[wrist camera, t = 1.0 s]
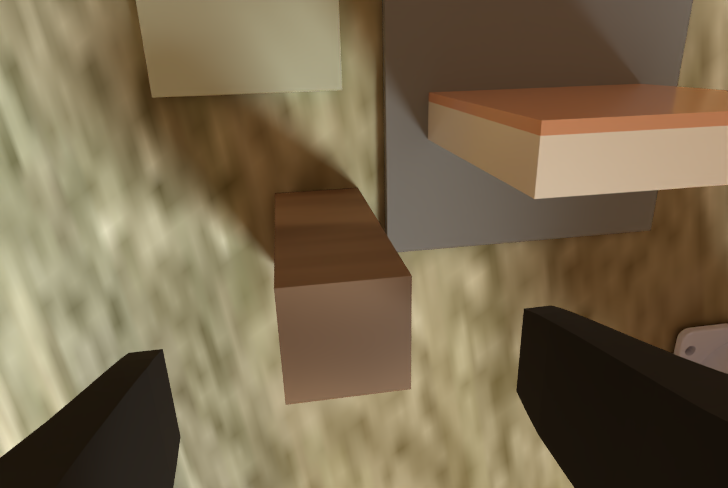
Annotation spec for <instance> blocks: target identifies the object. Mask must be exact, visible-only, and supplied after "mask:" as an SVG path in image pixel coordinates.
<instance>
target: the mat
mask: <svg viewBox="0 0 728 488" xmlns="http://www.w3.org/2000/svg"><path fill="white" fill-rule="evenodd" d="M692 3H693V0H382V12H383V91H384V169H385V233H386V235H387V236H388V238H389V240H390V241H391V243H392V245H393V246H394V248H395V249H396V251H397V252H405V251H417V250H429V249H440V248H452V247H464V246H475V245H487V244H499V243H510V242H522V241H533V240H545V239H557V238H568V237H580V236H592V235H603V234H615V233H627V232H638V231H650V230H651V226H652V220H653V215H654V209H655V204H656V198H657V193H658V190H650V191H637V192H623V193H610V194H596V195H582V196H569V197H555V198H542V199H533V198H532V197H530V196H528V195H526V194H524V193H523V192H521V191H519V190H517V189H516V188H514V187H512V186H510V185H508V184H507V183H505V182H503V181H501V180H499V179H498V178H496V177H494V176H492V175H491V174H489V173H487V172H485V171H483V170H482V169H480V168H478V167H476V166H475V165H473V164H471V163H469V162H467V161H466V160H464V159H462V158H460V157H458V156H457V155H455V154H453V153H451V152H450V151H448V150H446V149H444V148H442V147H441V146H439V145H437V144H435V143H433V142H432V141H430V140H428V106H429V92H450V91H475V90H499V89H523V88H548V87H572V86H597V85H621V84H651V85H664V86H676V87H677V84H678V79H679V74H680V68H681V63H682V57H683V52H684V47H685V41H686V36H687V30H688V25H689V19H690V14H691V9H692Z"/></svg>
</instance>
